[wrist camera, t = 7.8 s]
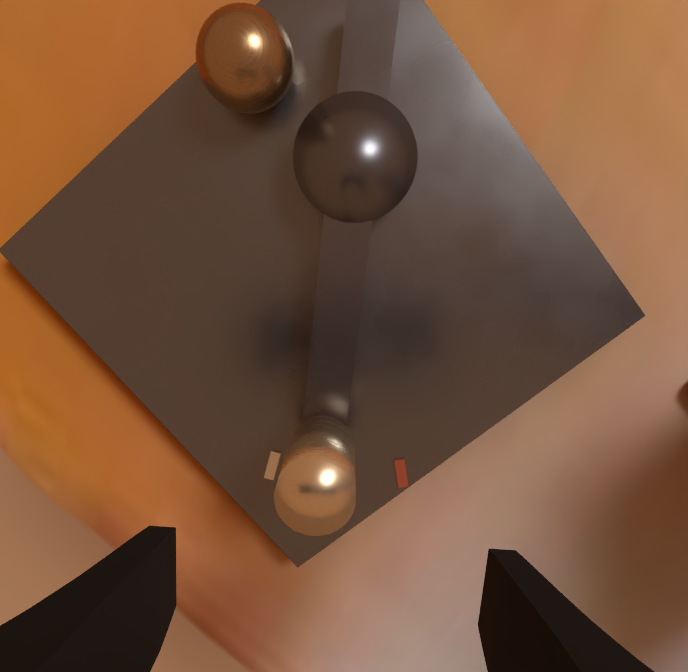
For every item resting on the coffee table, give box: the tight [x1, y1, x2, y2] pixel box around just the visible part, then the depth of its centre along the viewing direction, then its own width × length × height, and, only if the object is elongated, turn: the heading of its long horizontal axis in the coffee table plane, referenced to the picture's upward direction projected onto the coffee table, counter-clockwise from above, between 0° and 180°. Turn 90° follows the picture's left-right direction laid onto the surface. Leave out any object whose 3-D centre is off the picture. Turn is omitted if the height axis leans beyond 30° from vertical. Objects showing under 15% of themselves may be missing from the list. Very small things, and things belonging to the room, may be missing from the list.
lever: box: [274, 0, 418, 536], centre depth 15 cm, size 16×4×4 cm, turn 173°
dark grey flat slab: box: [0, 0, 645, 567], centre depth 17 cm, size 17×17×4 cm
